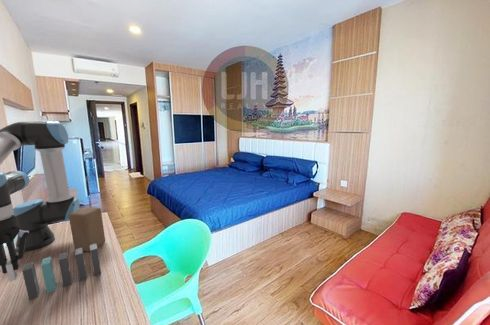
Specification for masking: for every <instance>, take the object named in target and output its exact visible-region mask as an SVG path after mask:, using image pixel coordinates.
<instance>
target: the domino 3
mask: <svg viewBox="0 0 490 325" xmlns="http://www.w3.org/2000/svg"><path fill="white" fill-rule="evenodd" d="M68 256H69V255H68V252H67V251H66V252H65V251H64V252H62V253H59V254H58V264H59V268H60V273H61V278H62V283H63V288H66V287H68V286H71V285H73V284H72V283H73V281H72V280H73V277H72V271H71V265H70V259H69V257H68Z"/></svg>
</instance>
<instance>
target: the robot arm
mask: <svg viewBox="0 0 490 325" xmlns="http://www.w3.org/2000/svg"><path fill="white" fill-rule="evenodd" d="M68 143H69V134H68V132H67V129H66V127H65V126H64V125H63V123H61V122H59V121H51V120H46V121H17V122H14V123H11V124H9V125H6V126H4V127H2V128H1V129H0V166H1V165H2V164H3V163H4V162H5V160H6V159H7V158H8V157H9V156H10V155H11V154H12V152H13V151H16V150H18V149H20V147H23V146H34V149H35V150H36V151H37V152H39V154H40V159H41V164H42V169H43V173H44V174H43V175H44V178H45V184H46V188H47V194H48V197H47V198H46V199H45V201H44V200H43V199H42V198H41V199H40V198H39V199H32V200H29V201H26V202H23V203H19V204H17V205H16V206H15V207H14V206H13V203H12V198H11V195H12V194H14V193H17V192H20V191H22V190H23V189H24V188H26V187H27V186H28V185H29V183H30V178H29V177H30V176H28V174H27V173H25V172H23V171H20V170H14V171H8V172H6V173H5V172H2V171H0V267H1V272H2V273H3V274H7V277H8V281H9V282H11V283H12V282H14V281H16V279H17V277H18V274H17V270H18V269H19V268H20V264H19V261H20V260H21V259H23V257H24V255H25V252H27V251H34V250H37V249H40V248H42V247H45V246H47V245H49V244H50V243H52V242H54V240H55V234H54V232H53V231H52V230H51V228H50V226H49V224H55V223H62V222H64V223H65V222H70V220H69V214H70V213H73V212H75V211H77V210H80V200H79V199H78V198H76V197H75V196H74V194H73V193H71V192H70V187H69V182H68V177H67V171H66V165H65V160H64V155H63V150H64V149H65V148H66V145H67V144H68ZM16 237H17V238H16ZM15 239H16V241H15V242H14V240H15ZM4 244H6V247H7V250H8V255H9V258H10V260H9V261H8V258H7V255H6V250H5V246H4ZM17 251H18V254H17Z"/></svg>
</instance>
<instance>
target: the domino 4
mask: <svg viewBox="0 0 490 325" xmlns="http://www.w3.org/2000/svg"><path fill="white" fill-rule="evenodd" d="M74 256H75V260H76V261H75V262H76V267H77V268H76V269H77V272H78V277H79V282H82V281H85V280H87V279H88V278H87V277H88V276H87V268H86V262H85V256H84V251H83V250H82V248H78V249H75V248H74Z"/></svg>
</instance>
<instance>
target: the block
mask: <svg viewBox="0 0 490 325" xmlns="http://www.w3.org/2000/svg"><path fill="white" fill-rule="evenodd" d="M69 225H70V231H71V236H72V242H73V247H74V250H75V249H78V248H82V250H83V252H90V245H92V244H96V245H97V248H98V247H99V246H102V245H103V244H105V242H106V236H105V231H104V230H105V229H104V223H103V216H102V209H101V208H100V207H92V206H84V207H82V208H79V210H77V211H75V212H73V213H70V214H69ZM90 253H91V252H90Z"/></svg>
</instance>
